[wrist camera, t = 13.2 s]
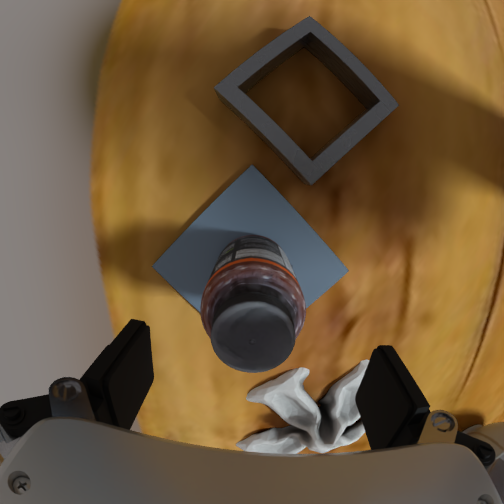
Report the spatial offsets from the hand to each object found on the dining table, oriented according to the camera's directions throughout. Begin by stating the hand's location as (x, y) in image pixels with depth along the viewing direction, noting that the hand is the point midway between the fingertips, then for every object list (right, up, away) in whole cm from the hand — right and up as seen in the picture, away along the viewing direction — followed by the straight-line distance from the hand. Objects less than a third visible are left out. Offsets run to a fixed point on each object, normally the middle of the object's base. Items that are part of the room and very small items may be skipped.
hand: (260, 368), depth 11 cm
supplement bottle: (0, +3, +13) cm, 14 cm away
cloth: (+8, -15, +19) cm, 26 cm away
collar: (+4, +17, +10) cm, 20 cm away
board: (0, +3, +14) cm, 14 cm away
